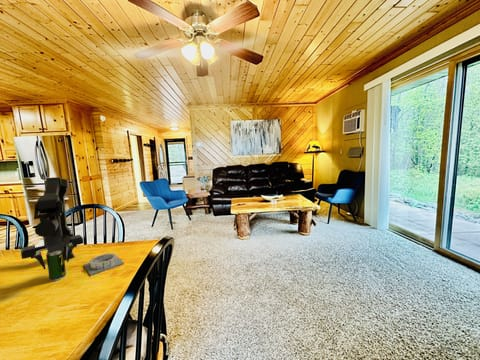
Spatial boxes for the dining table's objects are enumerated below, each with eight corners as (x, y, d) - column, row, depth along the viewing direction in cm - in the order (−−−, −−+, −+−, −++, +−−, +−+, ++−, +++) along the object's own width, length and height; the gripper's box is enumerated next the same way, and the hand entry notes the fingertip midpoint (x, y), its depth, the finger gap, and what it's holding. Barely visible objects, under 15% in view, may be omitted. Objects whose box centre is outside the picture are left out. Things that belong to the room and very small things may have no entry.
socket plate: (83, 265, 97) (83, 264, 97) (115, 255, 106) (114, 254, 106) (90, 276, 88) (90, 274, 88) (124, 264, 97) (123, 262, 97)
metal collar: (87, 264, 97) (87, 259, 96) (112, 256, 104) (112, 251, 104) (93, 272, 90) (92, 266, 89) (119, 262, 97) (119, 257, 97)
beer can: (48, 283, 83) (44, 254, 82) (50, 277, 88) (47, 249, 87) (65, 278, 86) (62, 251, 85) (67, 272, 91) (64, 246, 89)
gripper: (18, 241, 73) (25, 283, 74) (84, 227, 86) (88, 263, 88) (18, 233, 80) (24, 272, 82) (78, 222, 94) (82, 255, 95)
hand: (56, 265), depth 87 cm, fingers open, 7 cm apart
